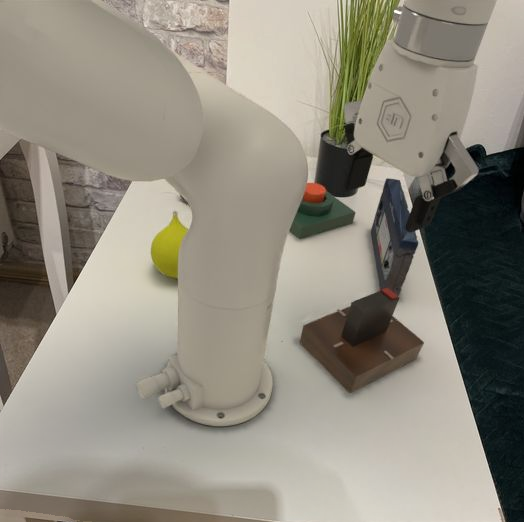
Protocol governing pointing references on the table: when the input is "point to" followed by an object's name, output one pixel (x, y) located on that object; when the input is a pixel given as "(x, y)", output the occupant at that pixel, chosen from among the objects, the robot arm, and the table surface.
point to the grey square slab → (369, 316)
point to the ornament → (168, 247)
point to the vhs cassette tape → (392, 237)
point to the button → (314, 193)
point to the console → (359, 350)
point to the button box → (320, 217)
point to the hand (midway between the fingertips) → (383, 207)
